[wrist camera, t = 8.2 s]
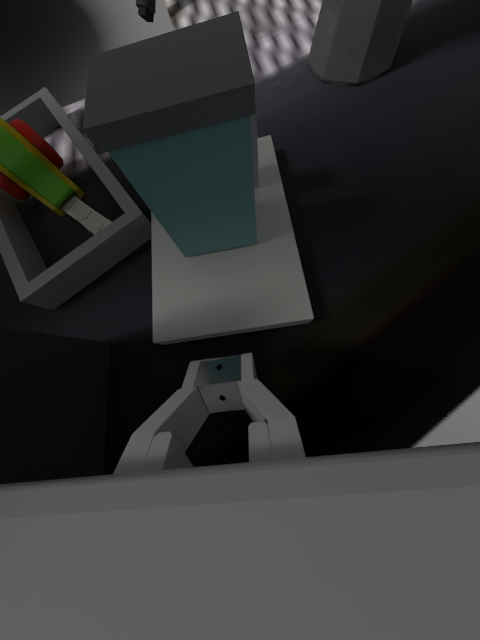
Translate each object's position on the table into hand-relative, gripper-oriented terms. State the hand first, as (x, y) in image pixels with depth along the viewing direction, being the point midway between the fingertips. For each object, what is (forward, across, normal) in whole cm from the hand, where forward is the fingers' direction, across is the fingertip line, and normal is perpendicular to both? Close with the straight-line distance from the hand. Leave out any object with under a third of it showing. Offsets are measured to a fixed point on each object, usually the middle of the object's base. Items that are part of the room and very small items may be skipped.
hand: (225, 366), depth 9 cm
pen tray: (+19, +18, -11) cm, 28 cm away
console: (+12, 0, -4) cm, 13 cm away
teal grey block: (+11, 0, -5) cm, 12 cm away
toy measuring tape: (+18, +17, -10) cm, 27 cm away
